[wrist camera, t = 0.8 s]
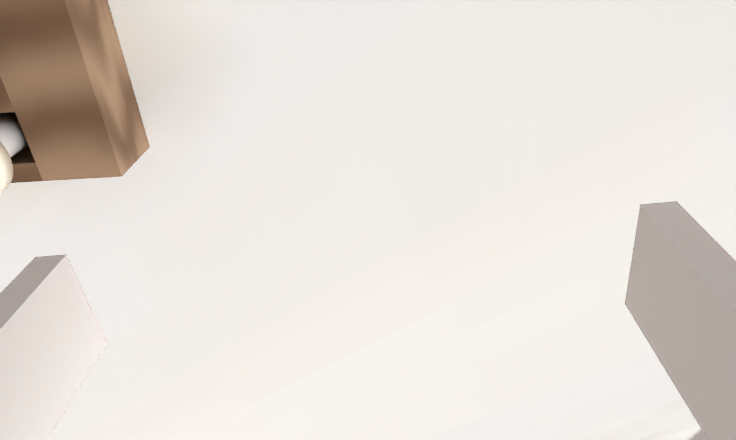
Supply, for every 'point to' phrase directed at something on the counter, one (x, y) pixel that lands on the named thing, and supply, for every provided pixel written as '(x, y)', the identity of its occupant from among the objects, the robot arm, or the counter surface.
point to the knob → (9, 146)
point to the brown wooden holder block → (67, 90)
